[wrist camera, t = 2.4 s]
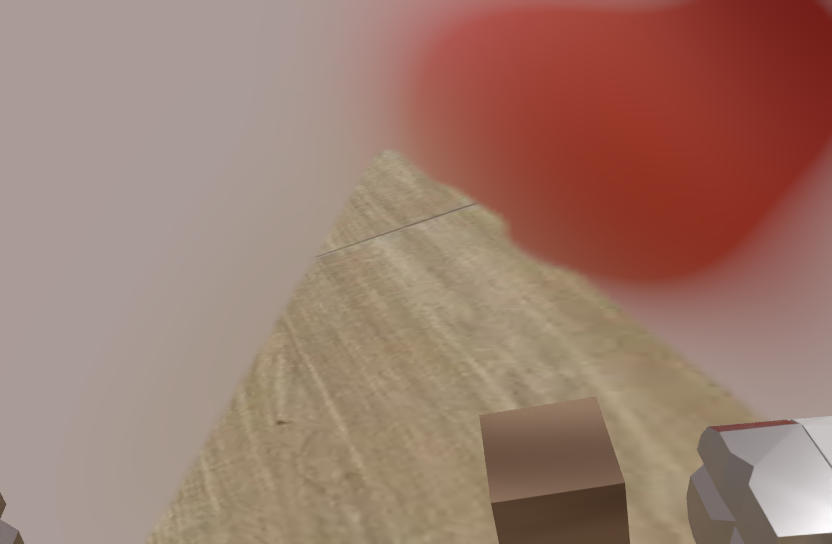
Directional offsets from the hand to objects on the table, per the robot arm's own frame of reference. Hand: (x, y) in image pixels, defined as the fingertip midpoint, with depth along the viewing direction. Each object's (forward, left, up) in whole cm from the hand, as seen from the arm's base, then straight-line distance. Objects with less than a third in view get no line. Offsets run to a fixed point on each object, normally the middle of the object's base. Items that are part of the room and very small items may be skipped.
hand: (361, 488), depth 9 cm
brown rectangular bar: (+12, -3, -27) cm, 30 cm away
